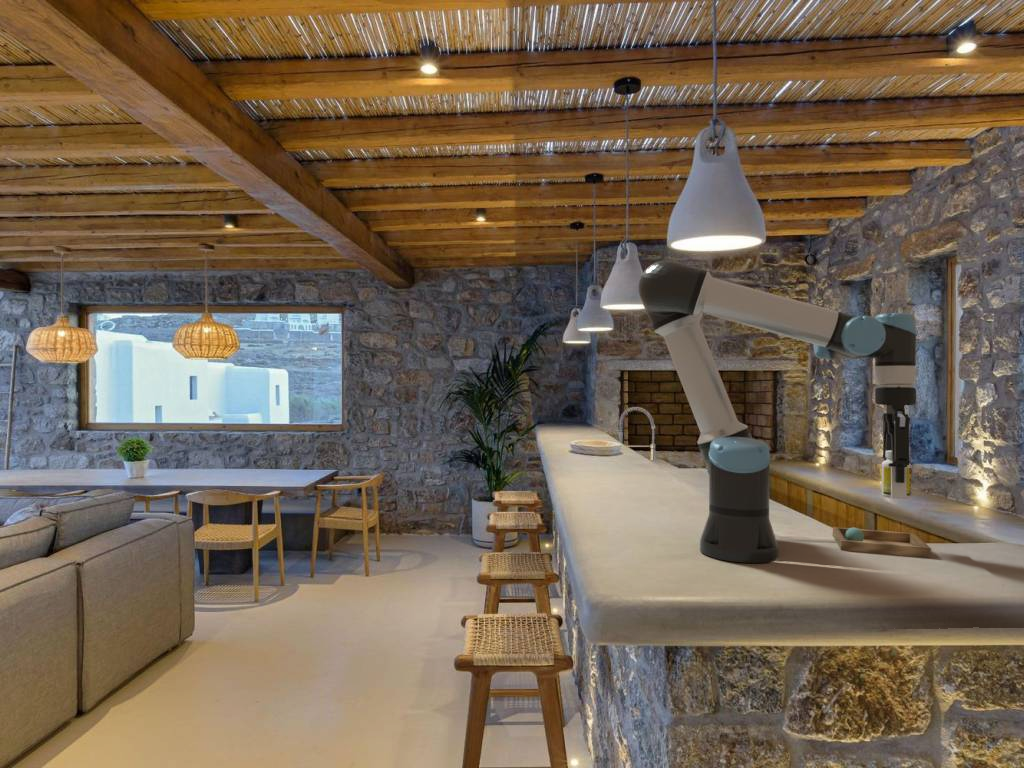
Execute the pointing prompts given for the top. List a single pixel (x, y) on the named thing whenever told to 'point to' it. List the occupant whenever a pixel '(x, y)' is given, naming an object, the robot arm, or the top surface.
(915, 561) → the top surface
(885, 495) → the supplement bottle
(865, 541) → the tray
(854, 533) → the ball
